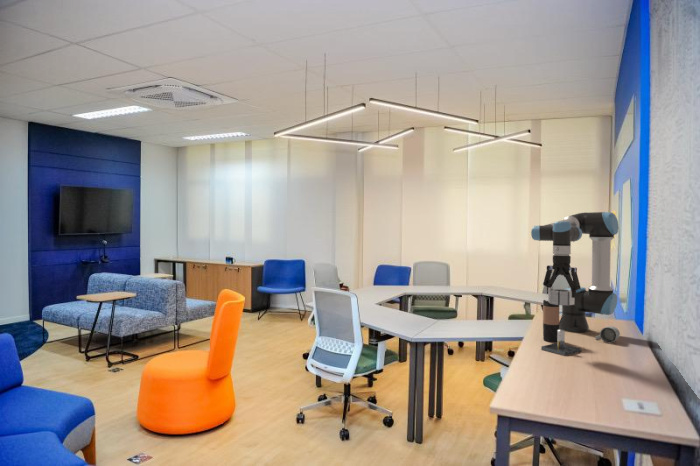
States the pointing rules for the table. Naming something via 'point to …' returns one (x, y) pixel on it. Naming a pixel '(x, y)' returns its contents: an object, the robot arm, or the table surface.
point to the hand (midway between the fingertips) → (561, 302)
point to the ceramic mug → (608, 334)
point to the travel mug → (550, 321)
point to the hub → (559, 296)
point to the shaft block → (561, 346)
